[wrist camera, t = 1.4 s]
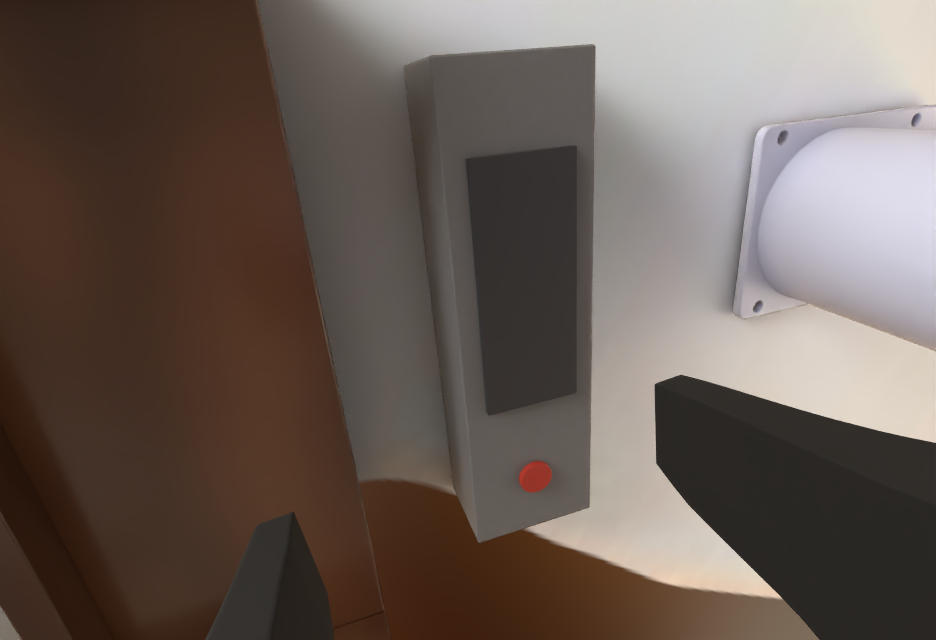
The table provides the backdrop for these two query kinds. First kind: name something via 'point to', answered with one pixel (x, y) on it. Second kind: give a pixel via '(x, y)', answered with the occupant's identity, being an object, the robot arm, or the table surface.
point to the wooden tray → (158, 328)
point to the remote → (510, 272)
